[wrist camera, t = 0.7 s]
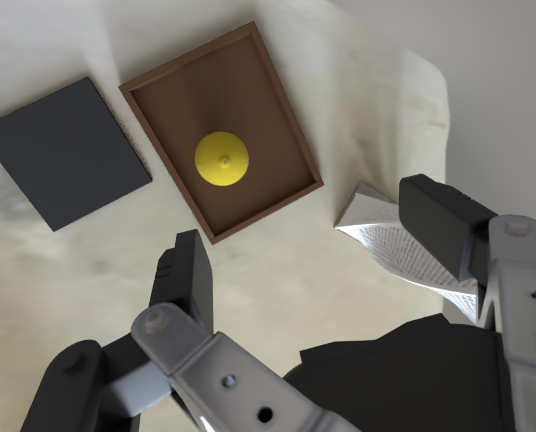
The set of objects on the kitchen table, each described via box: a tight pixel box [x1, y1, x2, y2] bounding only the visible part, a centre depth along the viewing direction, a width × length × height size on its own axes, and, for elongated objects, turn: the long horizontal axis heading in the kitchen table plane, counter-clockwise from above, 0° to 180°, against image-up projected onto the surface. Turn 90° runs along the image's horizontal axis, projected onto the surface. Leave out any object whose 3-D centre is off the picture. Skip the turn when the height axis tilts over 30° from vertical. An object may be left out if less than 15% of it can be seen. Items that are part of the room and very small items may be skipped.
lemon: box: [195, 132, 249, 186], centre depth 33 cm, size 6×6×8 cm
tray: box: [118, 21, 324, 245], centre depth 36 cm, size 20×16×2 cm
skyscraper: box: [334, 182, 477, 325], centre depth 30 cm, size 8×8×28 cm
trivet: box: [0, 77, 153, 232], centre depth 34 cm, size 12×12×1 cm
